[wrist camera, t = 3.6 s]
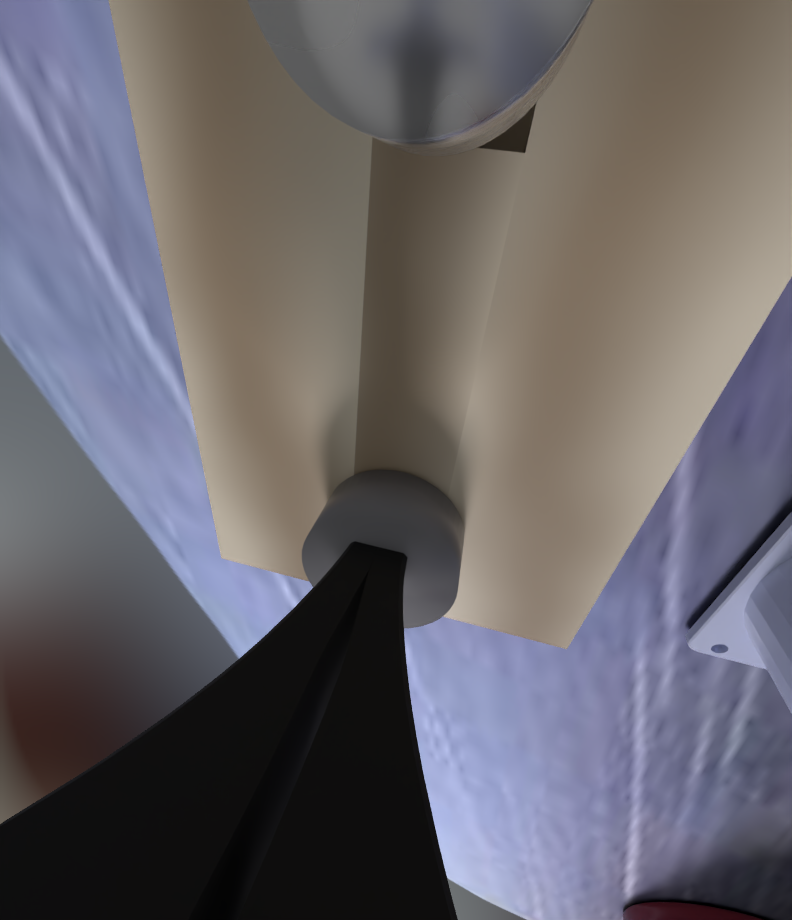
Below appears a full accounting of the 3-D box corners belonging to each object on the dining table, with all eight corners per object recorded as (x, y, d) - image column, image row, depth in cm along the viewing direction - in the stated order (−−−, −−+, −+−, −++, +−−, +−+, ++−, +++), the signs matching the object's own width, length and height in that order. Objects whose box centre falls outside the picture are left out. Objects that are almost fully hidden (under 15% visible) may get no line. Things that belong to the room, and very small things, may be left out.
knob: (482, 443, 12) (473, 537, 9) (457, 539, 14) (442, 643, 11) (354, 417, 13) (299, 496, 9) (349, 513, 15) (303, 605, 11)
